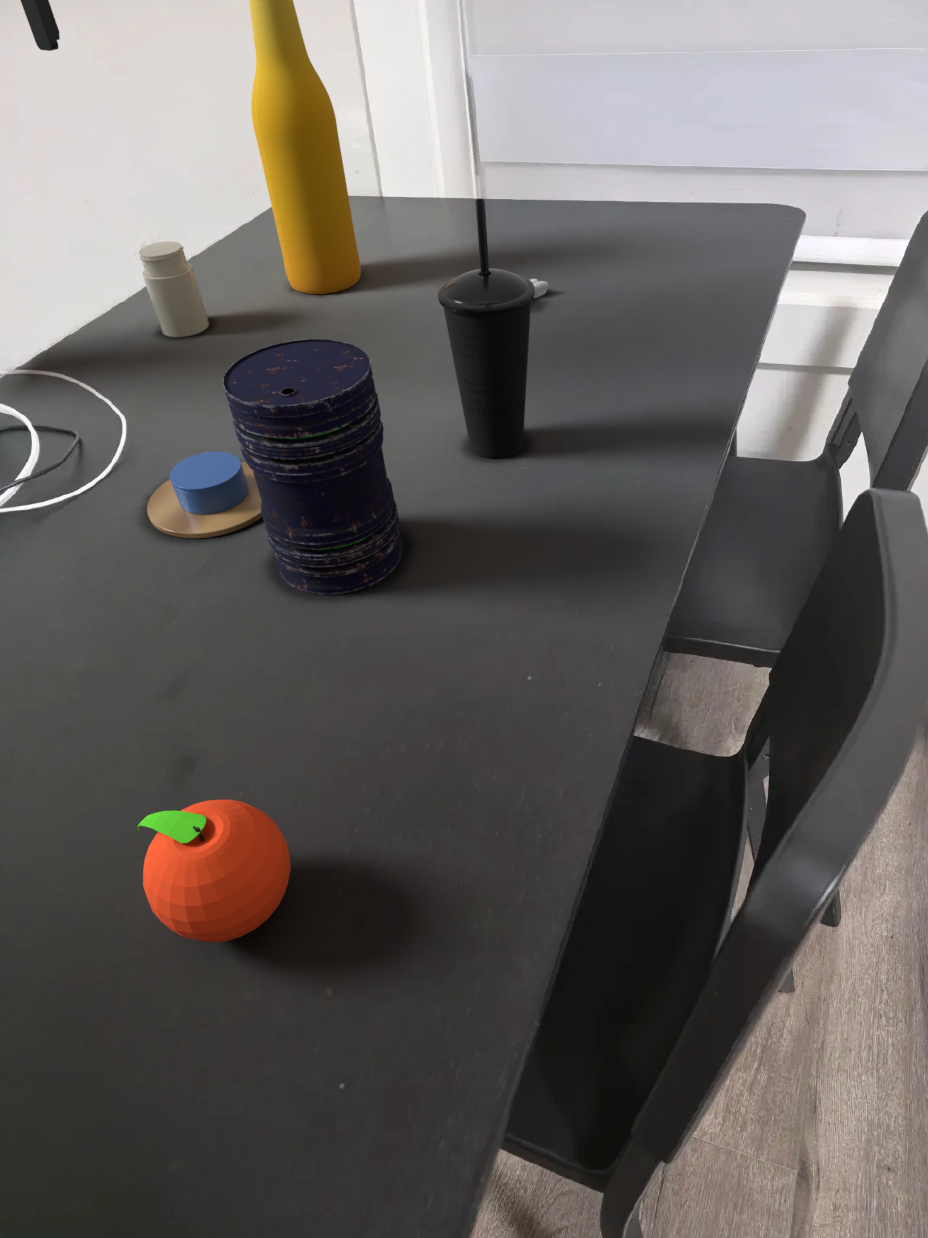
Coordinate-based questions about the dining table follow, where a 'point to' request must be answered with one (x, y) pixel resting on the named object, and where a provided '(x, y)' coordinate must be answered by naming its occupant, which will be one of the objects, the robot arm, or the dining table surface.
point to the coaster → (188, 525)
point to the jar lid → (209, 482)
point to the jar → (173, 289)
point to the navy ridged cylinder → (317, 462)
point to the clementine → (215, 869)
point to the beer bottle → (301, 155)
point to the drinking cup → (490, 349)
